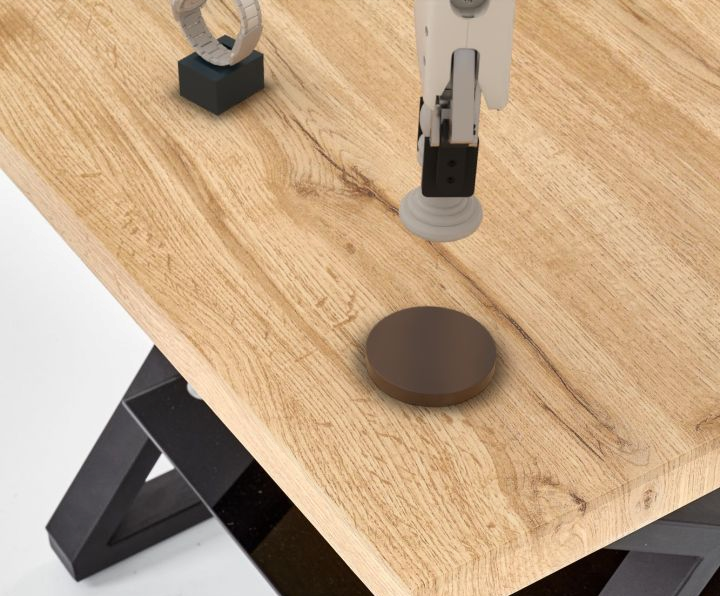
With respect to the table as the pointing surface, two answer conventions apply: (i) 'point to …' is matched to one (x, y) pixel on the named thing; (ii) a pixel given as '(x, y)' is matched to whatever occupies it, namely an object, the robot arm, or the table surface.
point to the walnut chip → (430, 356)
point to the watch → (219, 57)
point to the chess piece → (438, 203)
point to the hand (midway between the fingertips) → (445, 171)
